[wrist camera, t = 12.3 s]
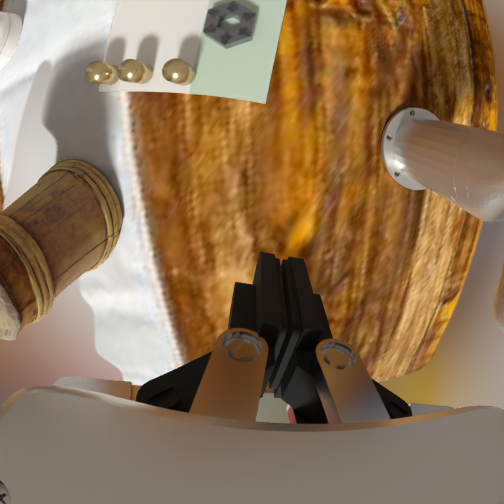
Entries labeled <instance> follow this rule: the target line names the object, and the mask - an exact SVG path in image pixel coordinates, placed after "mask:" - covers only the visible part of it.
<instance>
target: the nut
mask: <svg viewBox="0 0 504 504" xmlns="http://www.w3.org/2000/svg"><path fill="white" fill-rule="evenodd" d="M232 17H234V18H236V19H237V20H239V21H240V22H241V25H240V29H237V30H234V31H231V32H228V33H227V32H225V31H224V30H222V29H220V25H221V21H223V20H226V19H229V18H232ZM256 19H257V15H256V13H254V12H253V11H251V10H250V9H248V8H246V7H245V6H243V5H241V4H240V3H238V2H236V1H235V0H234V1H231V2H228V3H225V4H222V5H219V6H216V7H214V8H211V9H208V12H207V16H206V20H205V24H204V29H203V33H204V34H205V36H206V37H208V38H210V39H211V40H213V41H214V42H216V43H217V44H219V45H221V46H222V47H224V48H225V49H228V48H231V47H234V46H237V45H240V44H243V43H246V42H249V41H252V37H253V33H254V28H255V23H256Z"/></svg>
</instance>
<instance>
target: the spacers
mask: <svg viewBox="0 0 504 504" xmlns="http://www.w3.org/2000/svg"><path fill="white" fill-rule="evenodd" d="M162 75H163V77H164V78H165V79H166V80H167V81H169V82H172V83H175V84H178V85H181V86H186V85H189V84H191V83H192V82H193V81H194V80H195V78H196V71H195V69H194V68H193V67H192V66H190V65H189V64H188V63H186V62H185V61H183V60H182V59H179V58H174V59H171V60H169V61H167V62H166V63H165V64H164V66H163V68H162ZM152 76H153V69H152V67H151V66H150V65H148V64H145V63H143V62H140V61H137V60H134V59H126V60H124V61H123V62H122V63H121V64H120V65H119V67H118V66H115V65H111V64H107V63H103V62H99V61H96V62H93V63H91V64H90V65H89V66H88V67H87V69H86V72H85V78H86V80H87V81H88V82H89V83H96V84H106V85H113V84H115V83H116V82H117V81H118V80H119V79H120V80H122V81H126V82H131V83H137V84H145V83H147V82H149V81H150V80H151V78H152Z"/></svg>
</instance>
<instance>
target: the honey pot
mask: <svg viewBox="0 0 504 504" xmlns="http://www.w3.org/2000/svg"><path fill="white" fill-rule="evenodd" d="M21 32H22V19H21V17H20V15H18V14H14V13H8V12H1V11H0V69H2V68H3V67H4V66H5V65H6V64H7V62H8V61H9V60H10V58H11V57H12V55H13V53H14V51H15V49H16V47H17V45H18V42H19V40H20V36H21Z"/></svg>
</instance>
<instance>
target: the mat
mask: <svg viewBox="0 0 504 504" xmlns="http://www.w3.org/2000/svg"><path fill="white" fill-rule="evenodd" d="M231 1H234V0H119V1H118V4H117V7H116V10H115V14H114V17H113V21H112V25H111V29H110V33H109V37H108V41H107V46H106V50H105V55H104V60H103V63H107V64H111V65H115V66H118V67H119V65H120V64H121V63H122V62H123V61H124V60H126V59H134V60H137V61H140V62H143V63H145V64H148V65H150V66H151V67H152V69H153V76H152V78H151V80H150V81H149V82H147V83H145V84H137V83H131V82H126V81H122V80H120V79H119V80H118V81H117V82H116V83H115V84H113V85H106V84H99V90H98V92H117V91H149V92H173V93H188V94H199V95H209V96H218V97H226V98H233V99H240V100H247V101H253V102H259V103H264V104H265V103H266V98H267V93H268V88H269V84H270V79H271V74H272V69H273V64H274V59H275V54H276V49H277V45H278V40H279V35H280V30H281V26H282V21H283V16H284V12H285V7H286V2H287V0H235V1H236V2H238V3H240V4H241V5H243V6H245V7H246V8H248V9H250V10H251V11H253V12H254V13H256V15H257V19H256V23H255V28H254V33H253V37H252V41H249V42H246V43H243V44H240V45H237V46H234V47H231V48H228V49H225V48H224V47H222V46H221V45H219V44H217V43H216V42H214V41H213V40H211V39H210V38H208V37H206V36H205V34H204V33H203V29H204V24H205V20H206V16H207V12H208V9H211V8H214V7H216V6H219V5H222V4H225V3H228V2H231ZM240 25H241V22H240V21H239V20H237V19H236V18H234V17H232V18H229V19H226V20H223V21H221V25H220V29H222V30H224V31H225V32H227V33H228V32H231V31H234V30H237V29H240ZM174 58H179V59H182V60H183V61H185V62H186V63H188V64H189V65H190V66H192V67H193V68H194V69H195V71H196V78H195V80H194V81H193V82H192V83H191V84H189V85H186V86H181V85H178V84H175V83H172V82H169V81H167V80H166V79H165V78H164V77H163V75H162V68H163V66H164V64H165V63H166V62H167V61H169V60H171V59H174Z"/></svg>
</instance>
